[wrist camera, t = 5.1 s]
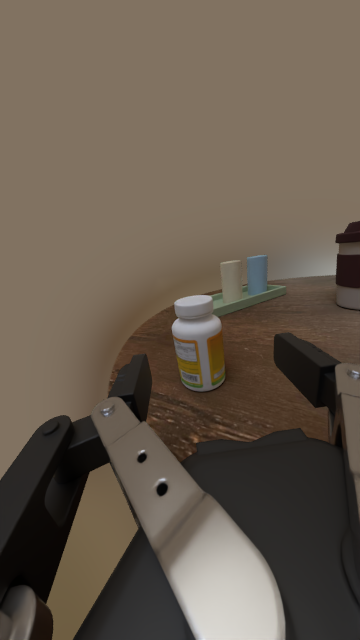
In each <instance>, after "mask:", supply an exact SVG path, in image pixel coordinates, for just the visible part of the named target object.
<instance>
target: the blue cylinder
mask: <svg viewBox="0 0 360 640" xmlns="http://www.w3.org/2000/svg"><path fill="white" fill-rule="evenodd" d="M247 278H248V279H247V280H248V295H251V296H254V295H257V294H260V293H263V292H267V255H261V256H253V257H248V258H247Z"/></svg>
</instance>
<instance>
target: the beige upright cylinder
mask: <svg viewBox="0 0 360 640" xmlns="http://www.w3.org/2000/svg"><path fill="white" fill-rule="evenodd" d="M220 266H221V280H222V294H223V303H226V304H228V303H231V302H234V301H238V300H241V299H243V293H242V263H241V260H237V261H228V262H223V263H221V264H220Z"/></svg>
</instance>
